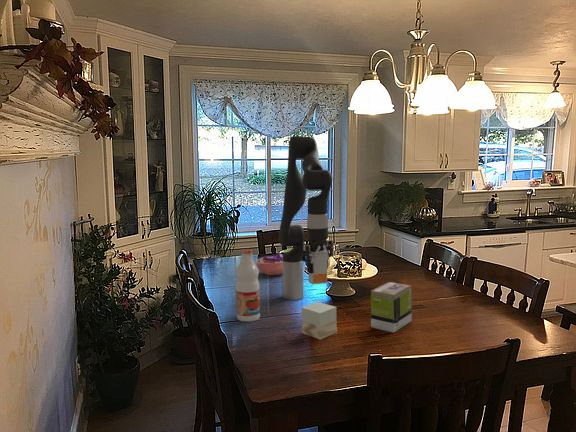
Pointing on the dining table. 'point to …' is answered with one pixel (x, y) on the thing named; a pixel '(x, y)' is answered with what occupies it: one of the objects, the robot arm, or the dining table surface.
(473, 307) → the dining table surface
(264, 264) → the cell model
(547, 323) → the dining table surface
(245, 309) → the fruit juice
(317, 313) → the upper block
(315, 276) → the skincare box
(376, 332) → the dining table surface
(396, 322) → the tea box
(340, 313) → the dining table surface
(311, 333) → the lower block
